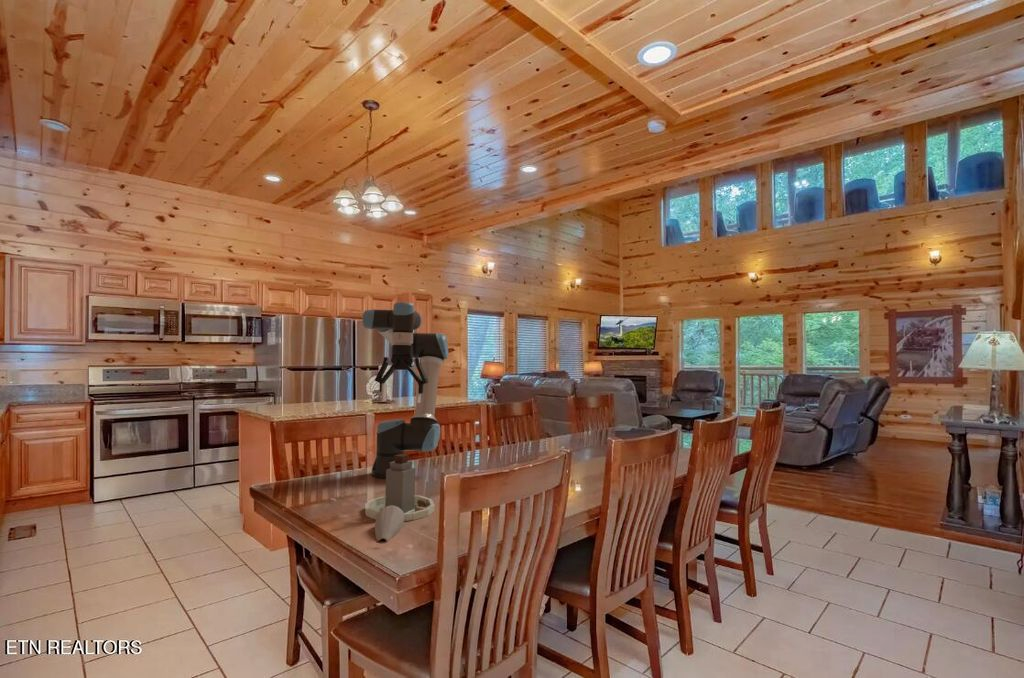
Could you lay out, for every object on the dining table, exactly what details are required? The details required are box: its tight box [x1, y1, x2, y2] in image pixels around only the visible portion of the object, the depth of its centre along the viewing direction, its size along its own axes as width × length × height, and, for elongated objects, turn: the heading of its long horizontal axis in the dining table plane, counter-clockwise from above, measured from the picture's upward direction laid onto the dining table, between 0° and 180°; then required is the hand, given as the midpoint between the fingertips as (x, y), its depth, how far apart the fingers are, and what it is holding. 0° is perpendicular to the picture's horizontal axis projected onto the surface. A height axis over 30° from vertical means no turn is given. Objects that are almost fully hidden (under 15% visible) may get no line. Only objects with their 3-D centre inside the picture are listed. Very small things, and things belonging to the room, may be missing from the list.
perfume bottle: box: [385, 453, 416, 513], centre depth 170 cm, size 7×7×18 cm
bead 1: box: [417, 499, 426, 507], centre depth 174 cm, size 3×3×2 cm
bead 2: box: [415, 507, 424, 512], centre depth 166 cm, size 3×3×2 cm
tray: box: [364, 494, 436, 522], centre depth 169 cm, size 22×22×3 cm
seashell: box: [374, 505, 405, 544], centre depth 150 cm, size 9×11×15 cm
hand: (400, 402), depth 190 cm, fingers open, 13 cm apart
